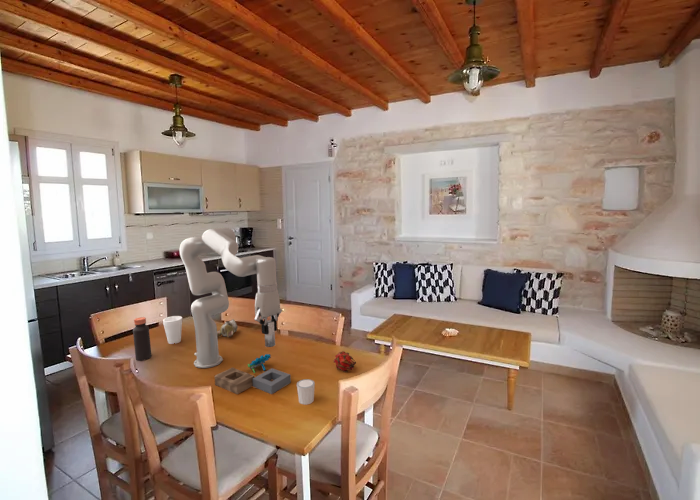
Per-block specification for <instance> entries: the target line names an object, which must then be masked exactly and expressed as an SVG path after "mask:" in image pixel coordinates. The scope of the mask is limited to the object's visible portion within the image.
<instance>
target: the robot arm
mask: <svg viewBox="0 0 700 500" xmlns="http://www.w3.org/2000/svg"><path fill="white" fill-rule="evenodd" d="M236 238H237V236H236V233H235V231H234V230H233V229H231V228H229V227H216V228H209V229H207V230H205V231H204V232H203V233H202V235H201V236H192V237H187V238H186V239H184V240H182V241H181V243H180V245H179V256H180V258H181V260H182V263H183V264H184V265H183V266H184V267H185V271H186V276H187V281H188V285H189V289H190V291H191V294H192V295H193V296H202V295H206V294H211V295H207V296H204V297H200V298H197V299H195V300H194V301H193V302H192V303H191V306H190V311H191V315H192V319H193V325H194V333H195V345H196V352H194V356H196V359H195V360H194V361H193V365H194V367H196V368H198V369H209V368H214V367H216V366H218V365H220V364H221V363H222V362H223V357H222V356H221V355H220V353H219V341H218V338H219V337H217V331H218V325H217V323H216V321H215V320H213V316H216V315H219V314H222V313H225V312H227V311H228V309H229V307H230V306H229V305H230V301H229V296H228V291H227V288H226V283H225V279H224V277H223V276H222V274H221V273H220V272H218V271H210V272H208V271H207V266H206V263H205V262H204V261H203V259H202V258H201V257H199V256H202V255H210V254H215V253H216V254H217V255H219V256H220V257H221V262H222V265H223V266H224V268H225V269H226V270H227V271H228V272H230V273H231V274H233V275H235V277H243V278H244V277H247V276H251V275H256V281H257V283H256V284H257V285H256V287H257V292H256V293H255V298H254V316H255V317H254V319H253V320H254V321H255V322H258V323H259V324H260V325H261V334H263V335H265V334H266V335H267V334H268V325H267V320H268V317H269V318H270V320H273V321H274V330H275V332H277V331H278V327H277V326H278V324H277V322H278V320H279V317H280V315H281V313H282V311H283V310H282V308H281V301H280V295H279V290H278V285H279V284H278V282H277V267H276V266H277V264H276V262H277V261H276V259H275V258H274V257H272V256H271V257H270V256H267V257H266V256H263V255H260V254H256V255H249V256H243V257H238V256H236V254H237V253H238V250H239V244H238V242H237V241H236V240H237V239H236Z"/></svg>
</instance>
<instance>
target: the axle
mask: <svg viewBox="0 0 700 500" xmlns="http://www.w3.org/2000/svg"><path fill="white" fill-rule="evenodd" d="M267 325H268V334H267V335H266V334H264V342H265V343H264V346H265V348H273V347H276V336H275V335H276V333H275V332H276V331H275V330H274V321H273V320H271V319H267Z"/></svg>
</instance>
